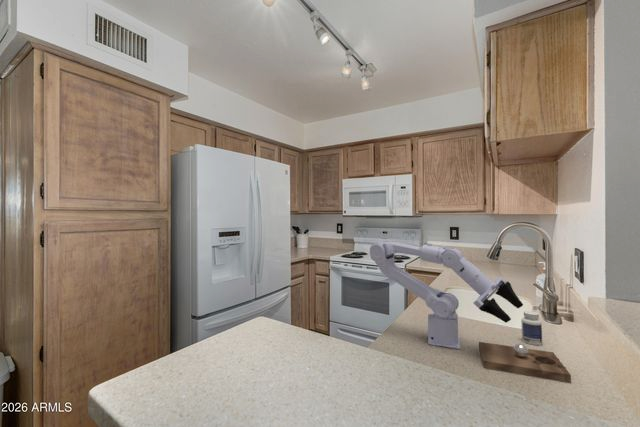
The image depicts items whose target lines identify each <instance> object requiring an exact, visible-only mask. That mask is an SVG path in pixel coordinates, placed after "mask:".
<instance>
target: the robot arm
mask: <svg viewBox="0 0 640 427" xmlns="http://www.w3.org/2000/svg"><path fill="white" fill-rule="evenodd" d="M398 253H399V254H405V255H409V256H416V257H419V259H420V260H421V261H423V262H428V263H432V264H438V265H443V266H444V267H445V268H447V269H450V270H452V271H453V272H454V273H456V275H457V276H459V277H460V278H461V279H462V280H463V281H464V282H465V283H466V284H467V285H468V286H469V287H470V288H472V289H473V291H475V292H476V293H477V294H478V295H479V297H477V298H476V300H475V301H474V302H473V305H474V306H476V307H477V308H478V309H479V310H480V311H481V312H483V313H487V314H489V315H492V316H494V317H496V318H497V319H499V320H501V321H503V322H504V323H509V322H510V321H511V320H512V318H511V317H510V315H509V314H508V313H507V312H505V311H504V310H503V309H502V308H501V306H500V305H499V304H498V302H497V301H496V299H495V298H494V297H493V298H491V297H492V296H493V295H494V294H496V295H497V296H500V297H502V298H503V299H504V300H506V301H507V302H508V303H510V304H511V305H512V306H513V307H515V308H516V309H520V308H522V307H523V306H524V304H523V303H522V301H521V300H520V299H519V297H518V296H517V294H516V293H515V291H514V289H513V286H512V284H511V282H509V281H507V280H506V279H504V278H503V277H502V276H500V277H499V278H497V279H496V280H495V281H493V280H491V279H490V277H488V276H487V275H486V274H485V273H484V272H482V271H481V270H480V269H479V268H477V266H475V264H473V263H472V262H471V261H470V260H468V259H467V258H466V257H464V256H463V253H462V252H461V250H459V249H457V248H455V247H450V248H447V246H436V245H433V243H427V244H423V245H422V246H416V245H412V244H407V243H403V242H398V241H388V240H385V241H382V242H375V243H372V244H371V245H370V248H369V256H370V259H371V260H372V261H373V262H374V263H375V265H377V267H378V269H379V271H380V272H381V273H382V274H383V275H385V276H386V277H388V278H389V279H391V280H392V281H394V282H395V283H397V284H398V285H400V286H402V288H405V289H406V290H407V291H409V292H410V293H412V294H414V295H415V296H416V297H418V298H420V299H422V300H423V301H424V302H425V304H426V307H428V308H429V309H431V311H432V312H433V313H428V315H427V341H428V345H431V346H432V345H433V346H438V347H445V348H449V349H451V348H452V349H456V350H457V349H461V343H460V338H459V322H458V321H459V318H458V316H459V315H458V314H457V311H456V310H458V308H459V305H460V303H459V299H458V298H457V296H455V295H454V294H453V293H450V292H445V291H443V290H441V289H438V288H433V287H432V286H430V285H429V284H427V283H426V282H424V281H422V280H420V279H419V278H417V277H415V276H414V275H412V274H411V273H409V272H407V271H406V270H404V269H402V268H401V267H399V266H397V265H396V264H395V254H398ZM490 298H491V299H490Z"/></svg>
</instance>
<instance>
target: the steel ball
mask: <svg viewBox="0 0 640 427" xmlns="http://www.w3.org/2000/svg"><path fill="white" fill-rule="evenodd" d="M513 347H514V352H515V354H516V355H518V356H519V357H526V356H528V354H529V351H528V349H529V348H528V347H527V346H526V345H525V344H522V343H516V344H515V345H514V346H513Z"/></svg>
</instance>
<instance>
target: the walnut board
mask: <svg viewBox="0 0 640 427" xmlns="http://www.w3.org/2000/svg"><path fill="white" fill-rule="evenodd" d="M478 349H479V353H480V358H481V361H482V365H483V367H482V368H484V369H488V370H493V371H501V372H505V373H512V374H515V375H516V374H517V375H522V376H528V377H532V378H533V377H535V378H539V379H544V380H545V379H546V380H552V381H557V382H562V383H563V382H564V383H569V384H571V383H572V375H571V373H570V372H569V370H567V368H566V366H564V364H563V363H562V362H561V360H560V359H559V358H558V357H557V356H556V354H555V353H554V351H553V352H552V351H547V350H546V351H545V350H539V349H533V348H528V351H529V354H528V356H526V357H519V356H518V355H516V354H515V352H514V346H510V345H504V344H496V343H489V342H484V341H478Z"/></svg>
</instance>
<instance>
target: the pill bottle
mask: <svg viewBox="0 0 640 427" xmlns="http://www.w3.org/2000/svg"><path fill="white" fill-rule="evenodd" d="M539 317H540V316H539V313H538V312H536V311H533V310H524V311H523V317H522V318H521V337H522V338H521V339H522V341H523V342H524V343H526V344H528V345H533V346H540V345H542V344H543V331H542V330H543V326H542V321H541V320H540V319H539Z"/></svg>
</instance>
